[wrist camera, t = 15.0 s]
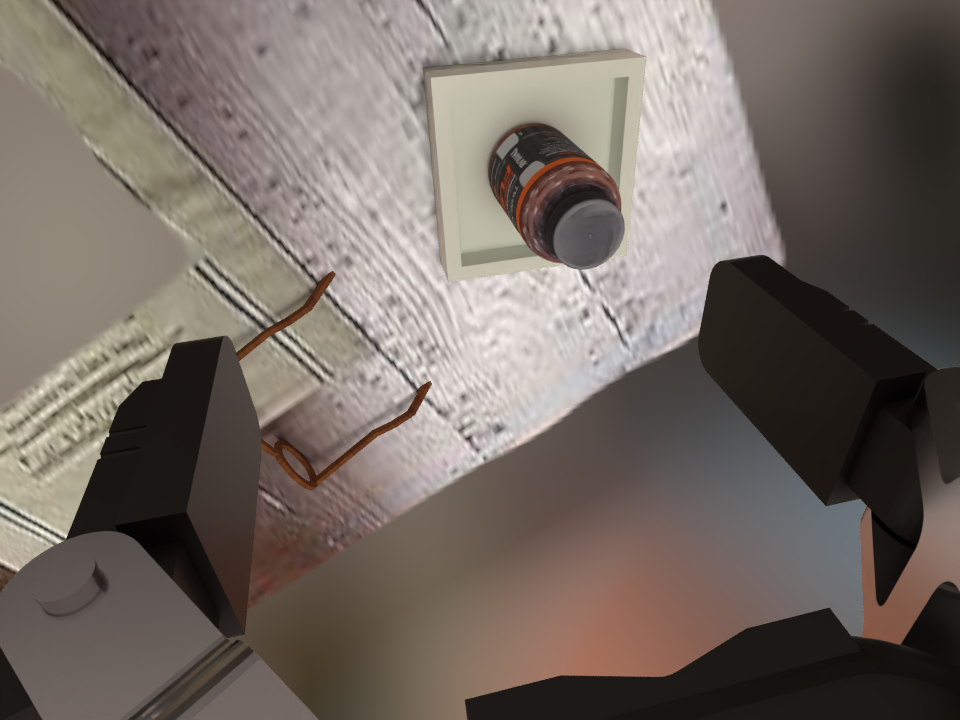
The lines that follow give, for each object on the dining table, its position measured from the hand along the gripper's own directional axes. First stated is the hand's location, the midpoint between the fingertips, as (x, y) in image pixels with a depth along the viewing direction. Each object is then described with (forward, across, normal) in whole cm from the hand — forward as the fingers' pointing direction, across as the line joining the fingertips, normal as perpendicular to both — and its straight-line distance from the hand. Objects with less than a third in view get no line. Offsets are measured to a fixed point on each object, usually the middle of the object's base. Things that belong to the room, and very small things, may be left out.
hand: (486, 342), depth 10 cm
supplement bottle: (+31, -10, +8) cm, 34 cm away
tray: (+32, -10, +8) cm, 35 cm away
